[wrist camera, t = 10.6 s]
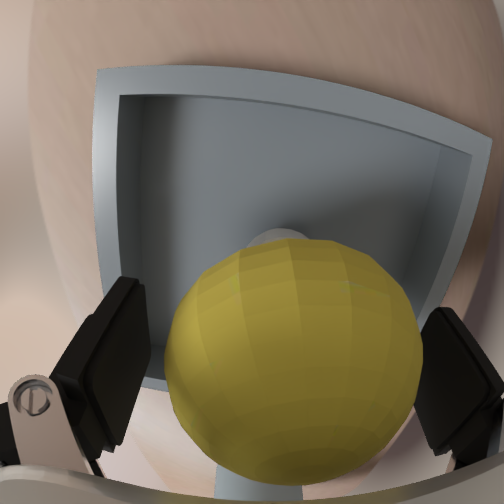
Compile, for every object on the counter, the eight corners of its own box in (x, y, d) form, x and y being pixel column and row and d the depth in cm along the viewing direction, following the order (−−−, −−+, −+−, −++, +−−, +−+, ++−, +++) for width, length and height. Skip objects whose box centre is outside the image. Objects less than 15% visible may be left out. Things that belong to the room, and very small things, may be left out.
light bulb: (180, 276, 14) (108, 476, 5) (250, 148, 12) (231, 276, 3) (298, 331, 16) (325, 517, 7) (378, 228, 13) (512, 400, 4)
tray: (134, 77, 11) (97, 69, 8) (448, 129, 12) (492, 139, 8) (140, 341, 18) (123, 382, 14) (370, 362, 18) (384, 402, 15)
